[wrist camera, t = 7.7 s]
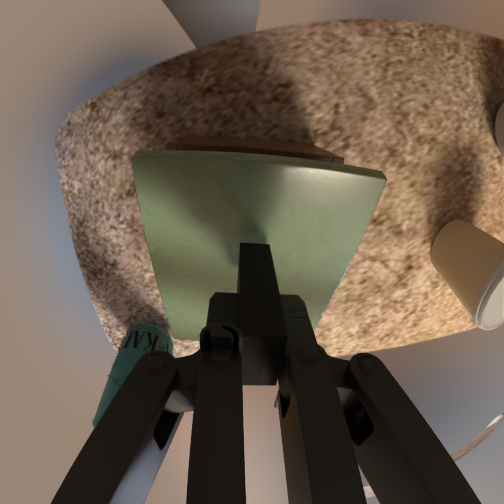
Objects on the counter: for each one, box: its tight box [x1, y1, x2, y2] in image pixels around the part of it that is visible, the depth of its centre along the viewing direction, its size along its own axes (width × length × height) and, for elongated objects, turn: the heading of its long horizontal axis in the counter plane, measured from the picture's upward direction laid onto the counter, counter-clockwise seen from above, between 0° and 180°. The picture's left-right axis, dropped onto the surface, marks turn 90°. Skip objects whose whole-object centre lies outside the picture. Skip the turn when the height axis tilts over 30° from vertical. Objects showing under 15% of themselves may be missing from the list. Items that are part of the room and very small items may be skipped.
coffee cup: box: [431, 219, 504, 330], centre depth 24 cm, size 9×9×12 cm
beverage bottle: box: [93, 323, 174, 428], centre depth 25 cm, size 6×7×20 cm
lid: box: [131, 150, 387, 341], centre depth 17 cm, size 17×12×1 cm
